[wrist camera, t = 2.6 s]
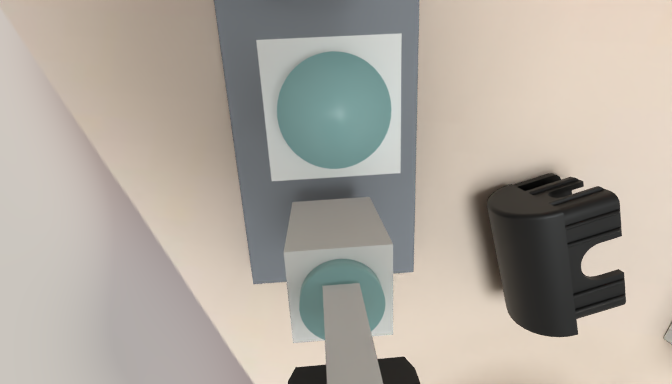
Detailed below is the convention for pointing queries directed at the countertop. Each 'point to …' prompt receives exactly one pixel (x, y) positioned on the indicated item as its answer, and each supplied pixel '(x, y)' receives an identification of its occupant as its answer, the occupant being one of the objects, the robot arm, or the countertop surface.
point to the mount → (250, 130)
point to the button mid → (332, 105)
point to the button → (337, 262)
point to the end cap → (553, 252)
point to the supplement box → (669, 335)
